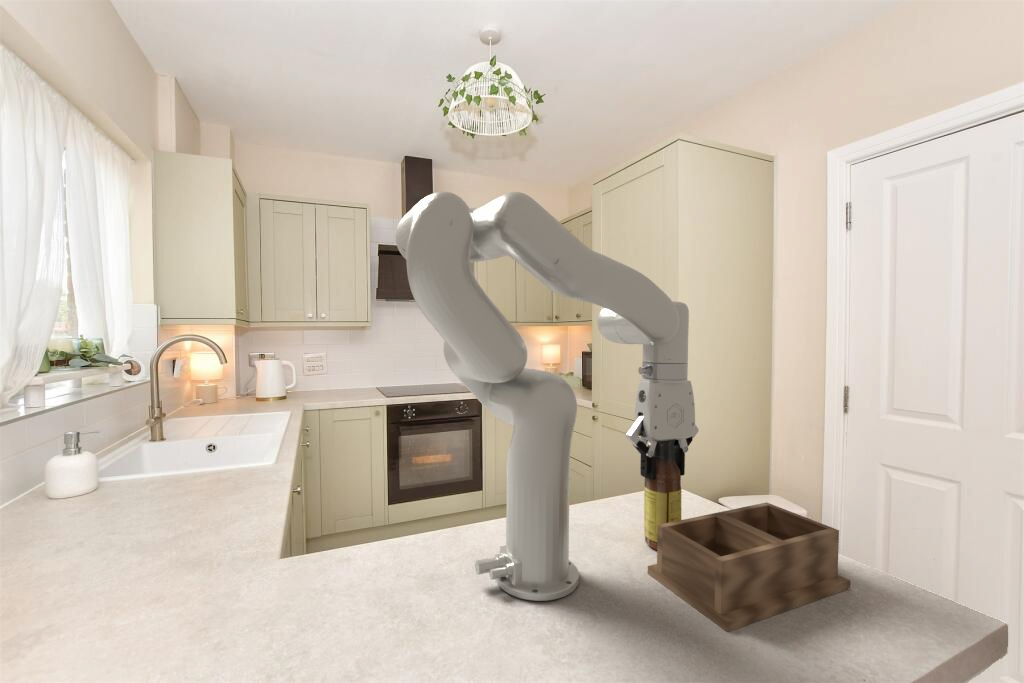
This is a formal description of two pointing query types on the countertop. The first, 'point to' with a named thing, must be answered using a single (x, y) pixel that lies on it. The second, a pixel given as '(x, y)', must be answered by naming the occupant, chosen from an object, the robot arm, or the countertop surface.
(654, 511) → the sauce bottle
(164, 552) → the countertop surface
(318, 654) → the countertop surface
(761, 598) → the caddy
